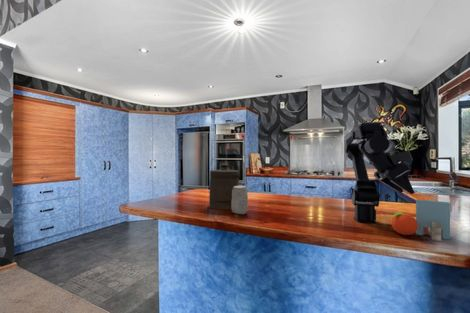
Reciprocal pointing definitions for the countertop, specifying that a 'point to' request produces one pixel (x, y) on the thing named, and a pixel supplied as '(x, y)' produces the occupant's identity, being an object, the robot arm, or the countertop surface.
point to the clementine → (404, 223)
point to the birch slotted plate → (435, 231)
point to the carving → (239, 199)
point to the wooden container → (222, 187)
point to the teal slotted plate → (433, 216)
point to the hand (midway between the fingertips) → (407, 192)
